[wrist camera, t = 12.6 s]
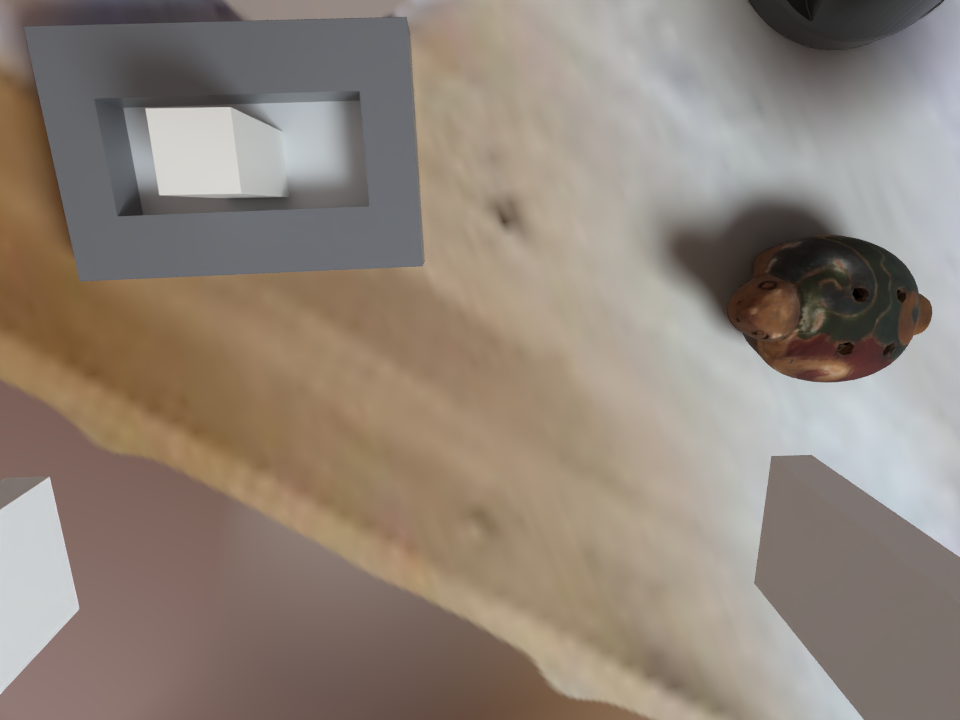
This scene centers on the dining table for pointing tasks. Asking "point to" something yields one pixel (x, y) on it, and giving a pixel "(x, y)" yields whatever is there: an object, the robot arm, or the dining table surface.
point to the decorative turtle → (829, 308)
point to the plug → (216, 154)
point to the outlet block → (261, 95)
